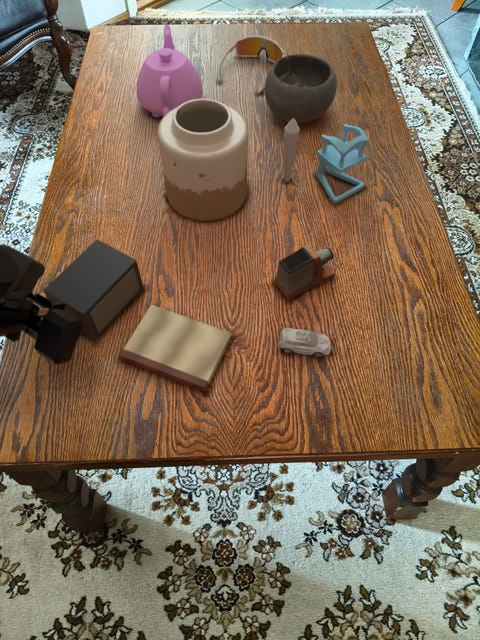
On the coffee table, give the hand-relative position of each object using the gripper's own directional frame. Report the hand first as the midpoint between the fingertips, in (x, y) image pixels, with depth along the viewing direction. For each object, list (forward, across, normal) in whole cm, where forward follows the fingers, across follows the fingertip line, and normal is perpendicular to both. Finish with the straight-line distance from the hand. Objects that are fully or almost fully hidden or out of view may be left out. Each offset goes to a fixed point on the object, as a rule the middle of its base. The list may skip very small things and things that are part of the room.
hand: (63, 305), depth 74 cm
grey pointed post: (+39, -11, -28) cm, 50 cm away
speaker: (+9, 0, +1) cm, 9 cm away
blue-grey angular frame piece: (+43, -19, -32) cm, 56 cm away
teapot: (+45, +23, -34) cm, 61 cm away
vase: (+31, 0, -21) cm, 37 cm away
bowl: (+53, -2, -42) cm, 68 cm away
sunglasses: (+59, +15, -48) cm, 78 cm away
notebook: (+9, -15, +1) cm, 18 cm away
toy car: (+18, -32, -7) cm, 37 cm away
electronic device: (+25, -26, -15) cm, 39 cm away
